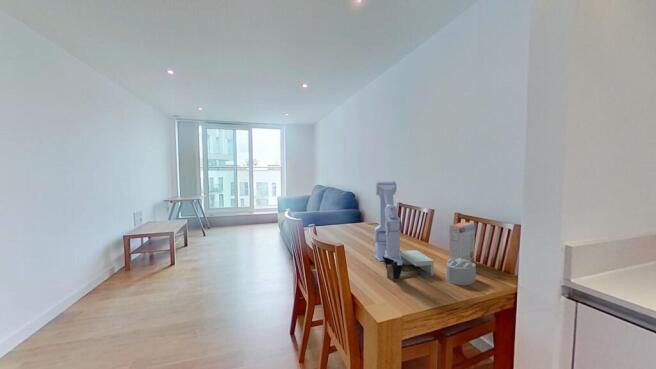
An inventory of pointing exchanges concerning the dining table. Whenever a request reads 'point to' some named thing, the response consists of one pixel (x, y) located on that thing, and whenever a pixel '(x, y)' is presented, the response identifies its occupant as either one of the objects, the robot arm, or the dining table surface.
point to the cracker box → (462, 241)
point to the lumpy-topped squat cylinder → (460, 271)
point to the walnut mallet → (402, 275)
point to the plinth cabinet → (417, 260)
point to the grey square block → (425, 274)
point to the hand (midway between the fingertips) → (392, 275)
